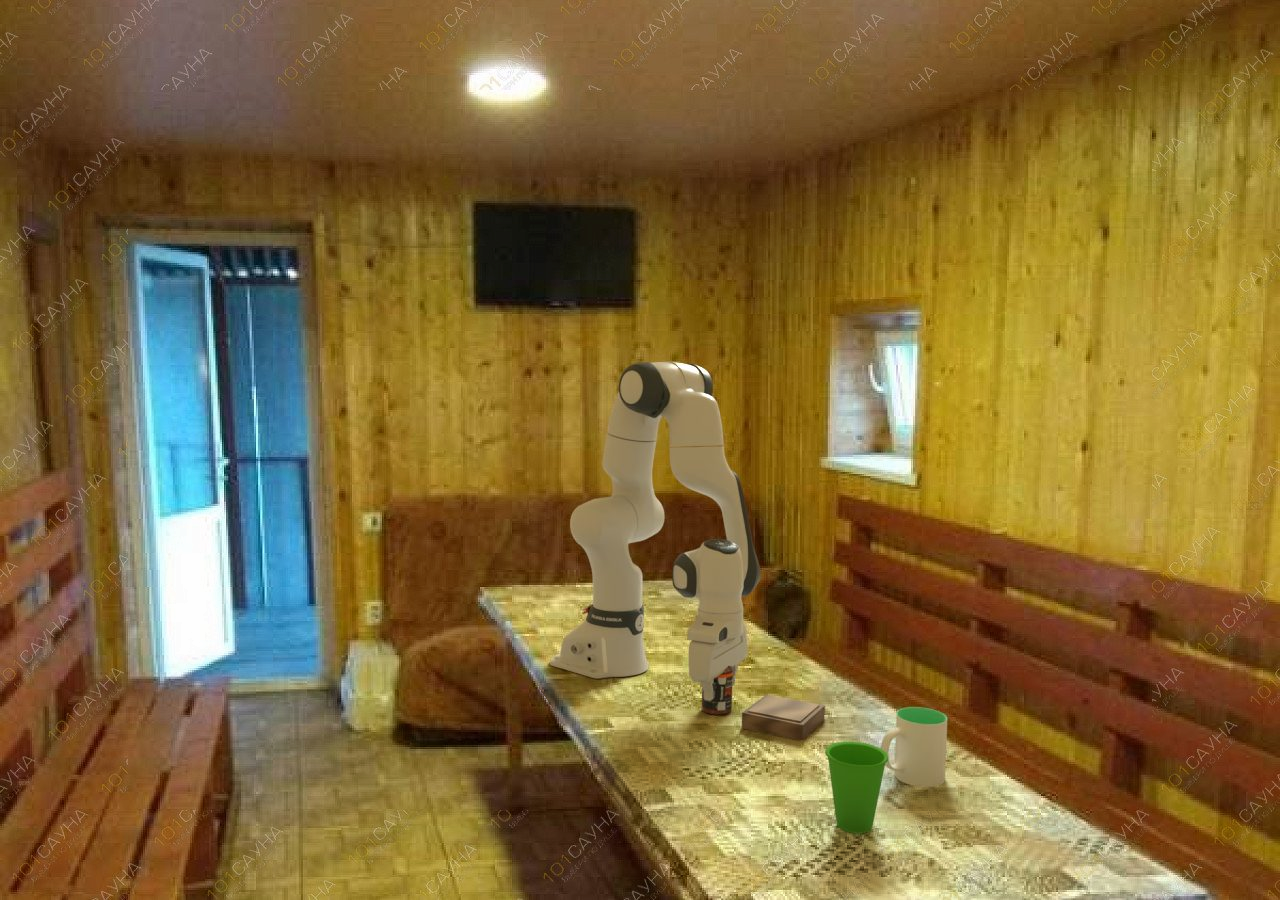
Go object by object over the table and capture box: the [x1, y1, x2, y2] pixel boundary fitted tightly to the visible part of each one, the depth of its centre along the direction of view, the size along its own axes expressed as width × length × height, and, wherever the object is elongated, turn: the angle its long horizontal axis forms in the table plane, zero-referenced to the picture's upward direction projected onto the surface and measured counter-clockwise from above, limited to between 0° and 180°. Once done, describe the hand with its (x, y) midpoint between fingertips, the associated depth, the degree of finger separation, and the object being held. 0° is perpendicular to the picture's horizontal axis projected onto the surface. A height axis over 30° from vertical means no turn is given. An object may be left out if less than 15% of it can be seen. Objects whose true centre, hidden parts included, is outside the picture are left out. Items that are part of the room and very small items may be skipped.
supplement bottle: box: [701, 666, 733, 716], centre depth 187 cm, size 6×6×11 cm
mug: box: [880, 706, 948, 788], centre depth 156 cm, size 12×8×10 cm, turn 120°
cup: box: [824, 741, 889, 834], centre depth 140 cm, size 9×9×11 cm
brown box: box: [741, 694, 826, 742], centre depth 181 cm, size 12×12×3 cm
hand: (719, 692), depth 187 cm, fingers open, 8 cm apart
